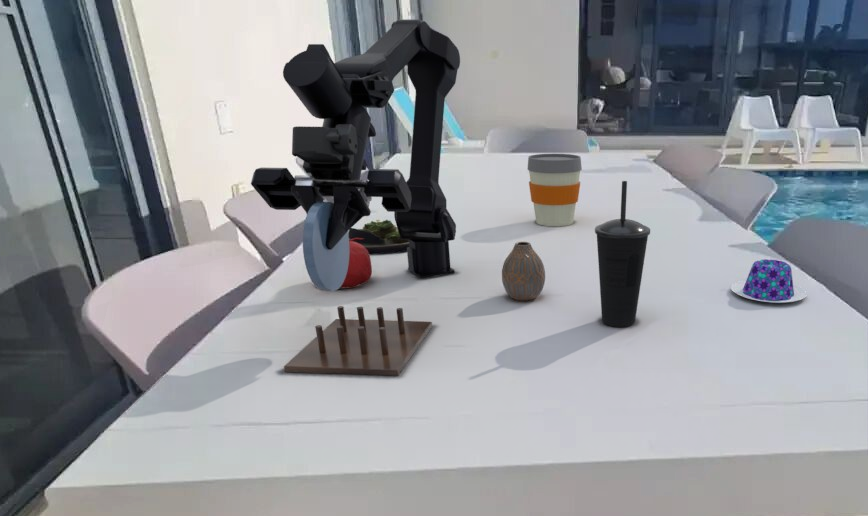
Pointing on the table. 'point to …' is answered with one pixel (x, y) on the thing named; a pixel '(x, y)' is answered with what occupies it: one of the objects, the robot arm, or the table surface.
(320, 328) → the rack
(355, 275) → the pomegranate
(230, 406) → the table surface
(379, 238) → the salad plate
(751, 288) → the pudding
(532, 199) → the reusable coffee cup
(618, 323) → the drinking cup
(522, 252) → the vase
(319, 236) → the plate
